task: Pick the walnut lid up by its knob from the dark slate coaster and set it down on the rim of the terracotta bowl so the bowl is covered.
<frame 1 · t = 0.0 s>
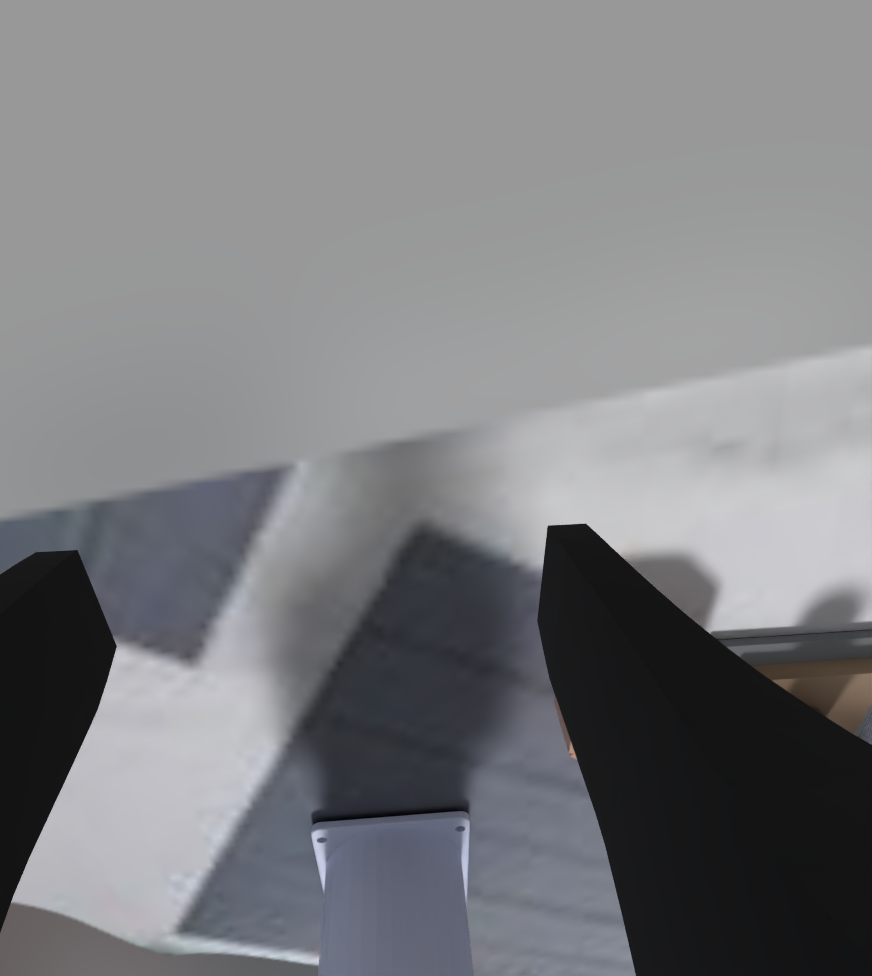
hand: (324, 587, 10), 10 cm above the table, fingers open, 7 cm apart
coaster: (779, 703, 29), on the table
lid: (784, 710, 28), resting on coaster
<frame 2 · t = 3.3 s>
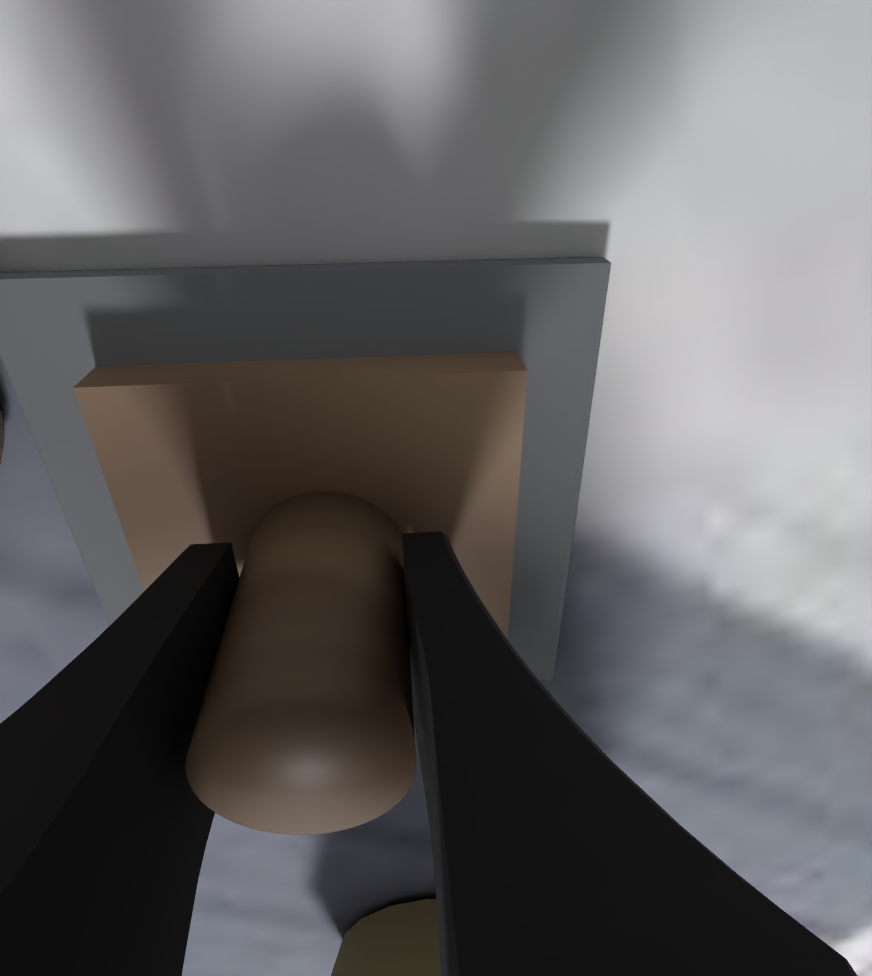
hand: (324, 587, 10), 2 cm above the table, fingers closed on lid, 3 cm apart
coaster: (333, 515, 11), on the table
lid: (331, 527, 11), resting on coaster, touching gripper
squeeze bottle: (427, 926, 21), on the table
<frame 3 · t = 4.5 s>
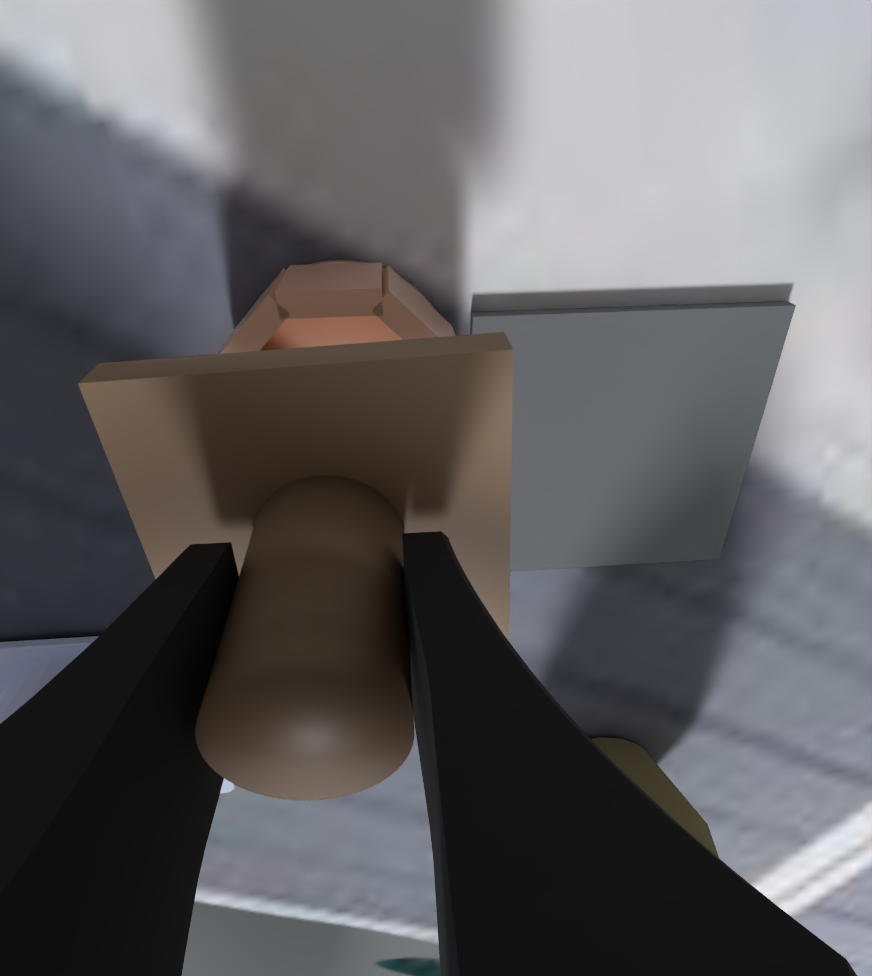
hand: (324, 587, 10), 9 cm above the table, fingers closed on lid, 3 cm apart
bowl: (347, 369, 17), on the table
coaster: (609, 448, 20), on the table
lid: (333, 512, 11), point 7 cm above the table, touching gripper
squeeze bottle: (587, 768, 29), on the table
when the fingers open (6 cm above the table, at t = 5.8 s): lid stays where it is, resting on bowl.
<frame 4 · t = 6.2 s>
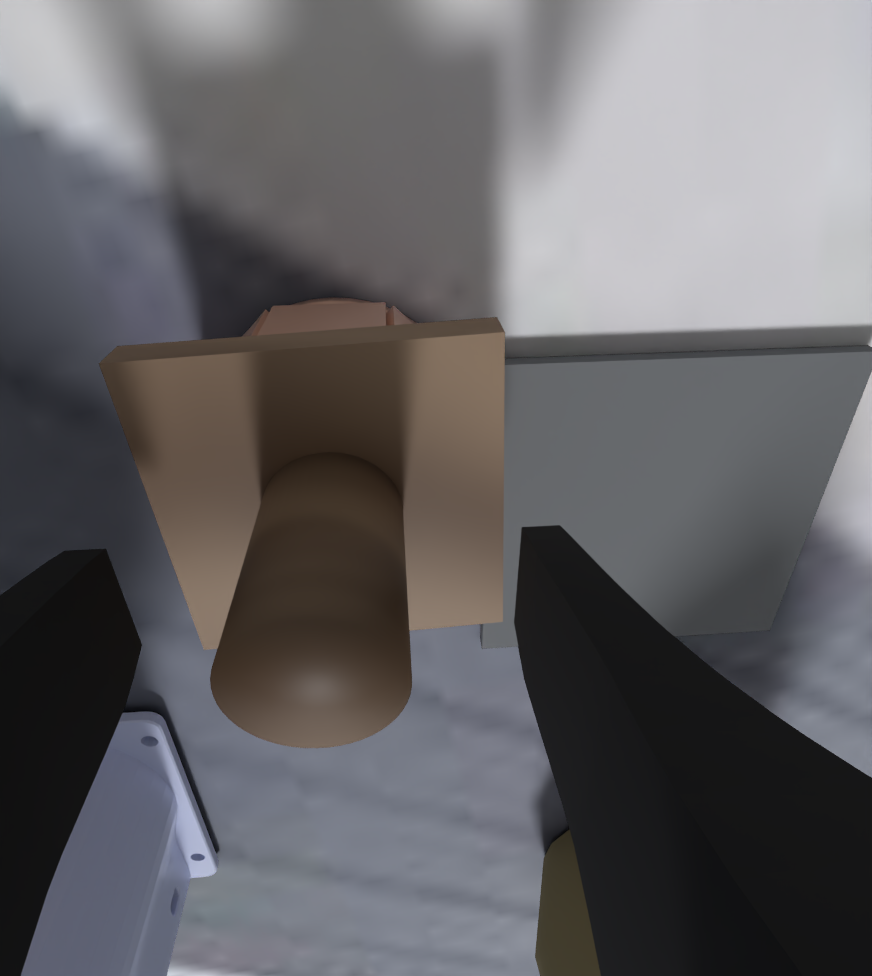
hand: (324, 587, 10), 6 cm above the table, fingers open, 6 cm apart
bowl: (343, 424, 15), on the table
coaster: (649, 511, 17), on the table
lid: (335, 490, 12), point 3 cm above the table, touching bowl
squeeze bottle: (609, 842, 26), on the table
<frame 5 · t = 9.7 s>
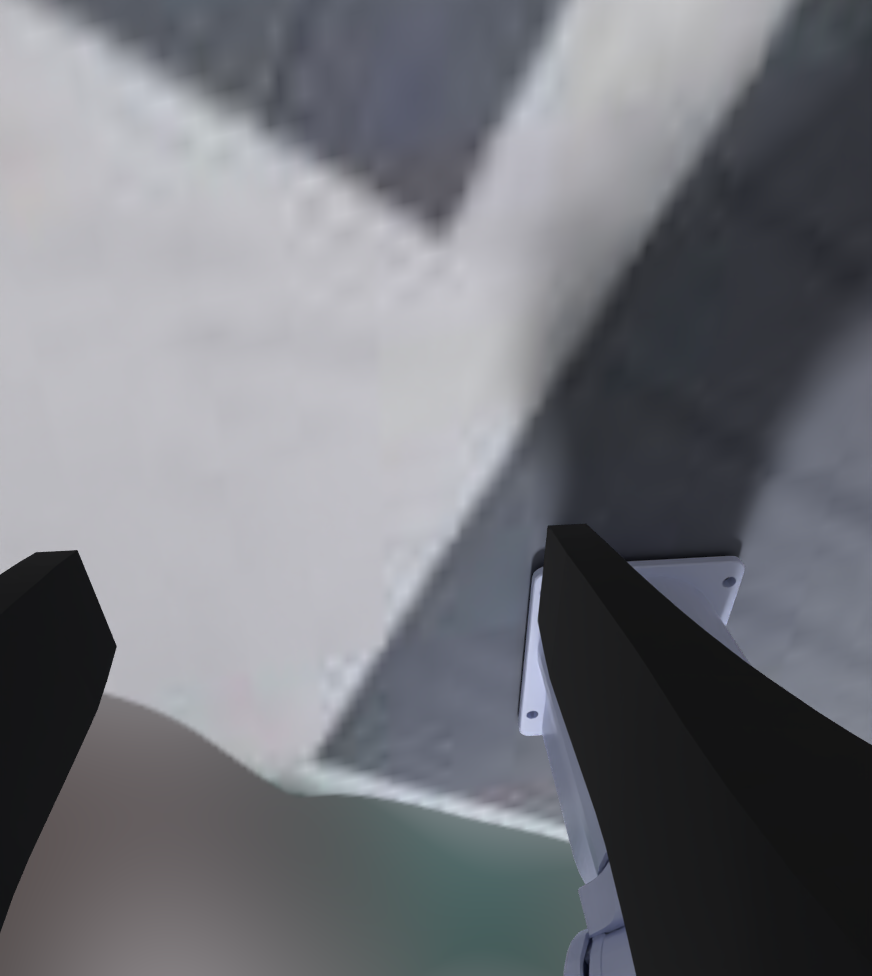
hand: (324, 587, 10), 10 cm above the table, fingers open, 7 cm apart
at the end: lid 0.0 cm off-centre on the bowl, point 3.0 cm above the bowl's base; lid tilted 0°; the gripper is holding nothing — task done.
